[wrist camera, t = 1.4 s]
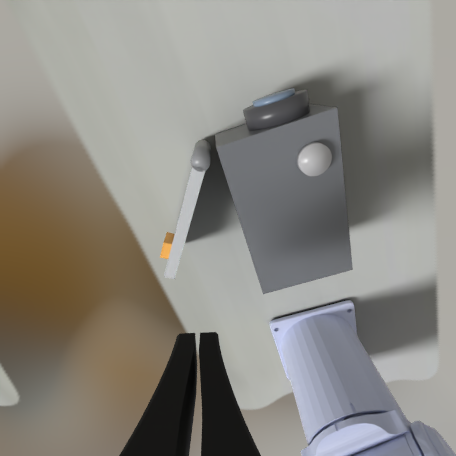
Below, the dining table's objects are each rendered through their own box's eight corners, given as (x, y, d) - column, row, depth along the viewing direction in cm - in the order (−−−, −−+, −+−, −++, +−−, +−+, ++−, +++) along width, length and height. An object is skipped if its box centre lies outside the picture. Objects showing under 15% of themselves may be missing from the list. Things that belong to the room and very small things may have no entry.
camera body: (325, 235, 21) (356, 274, 16) (253, 256, 21) (264, 299, 17) (302, 81, 16) (339, 77, 11) (208, 114, 16) (207, 122, 12)
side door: (182, 248, 20) (176, 279, 17) (164, 243, 20) (155, 274, 16) (212, 142, 16) (212, 155, 13) (190, 135, 16) (185, 147, 13)
